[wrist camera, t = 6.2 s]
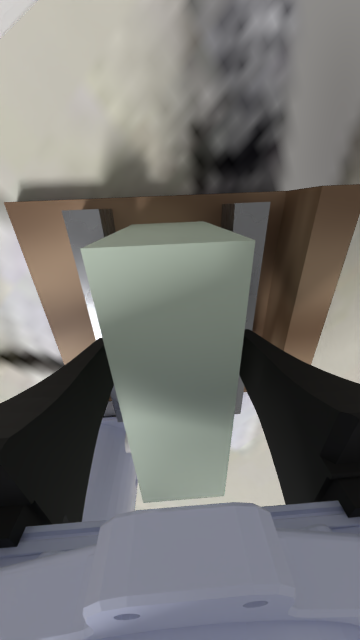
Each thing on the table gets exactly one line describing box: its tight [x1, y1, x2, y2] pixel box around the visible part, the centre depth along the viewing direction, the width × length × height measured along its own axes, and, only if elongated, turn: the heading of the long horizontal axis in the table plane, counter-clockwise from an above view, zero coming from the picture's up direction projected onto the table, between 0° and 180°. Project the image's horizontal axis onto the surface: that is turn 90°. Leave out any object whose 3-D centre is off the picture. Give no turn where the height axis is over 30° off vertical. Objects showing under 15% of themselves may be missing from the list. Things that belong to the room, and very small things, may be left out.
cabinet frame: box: [4, 184, 360, 422], centre depth 14 cm, size 15×17×4 cm
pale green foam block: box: [80, 221, 255, 503], centre depth 11 cm, size 5×12×8 cm, turn 2°
